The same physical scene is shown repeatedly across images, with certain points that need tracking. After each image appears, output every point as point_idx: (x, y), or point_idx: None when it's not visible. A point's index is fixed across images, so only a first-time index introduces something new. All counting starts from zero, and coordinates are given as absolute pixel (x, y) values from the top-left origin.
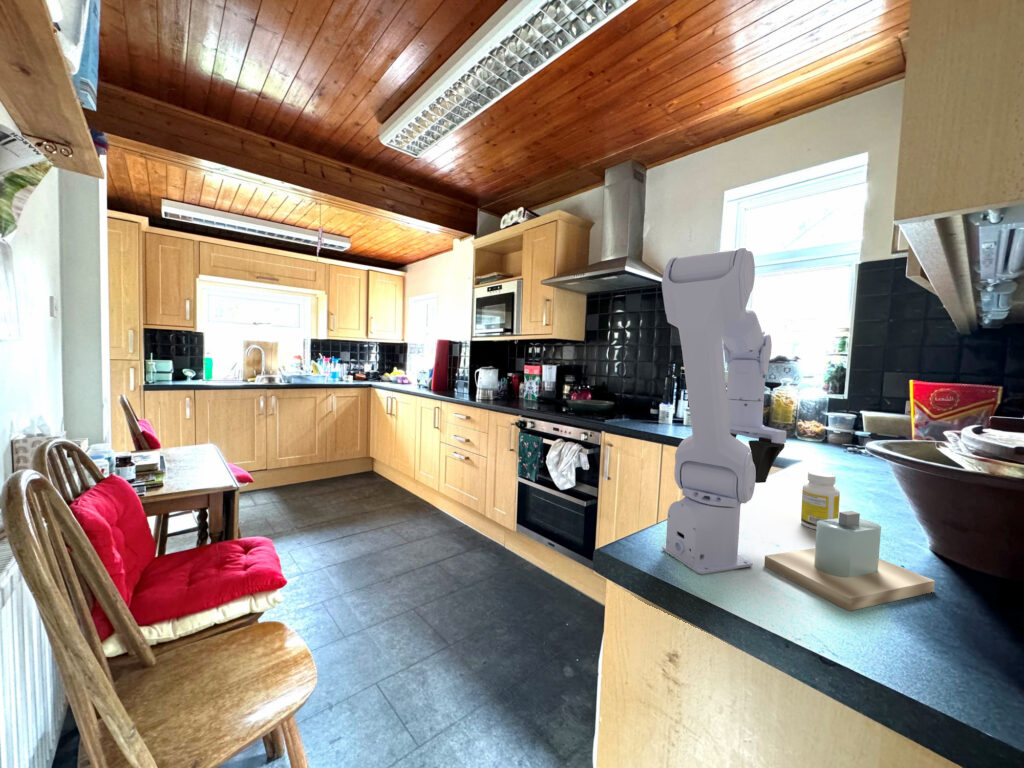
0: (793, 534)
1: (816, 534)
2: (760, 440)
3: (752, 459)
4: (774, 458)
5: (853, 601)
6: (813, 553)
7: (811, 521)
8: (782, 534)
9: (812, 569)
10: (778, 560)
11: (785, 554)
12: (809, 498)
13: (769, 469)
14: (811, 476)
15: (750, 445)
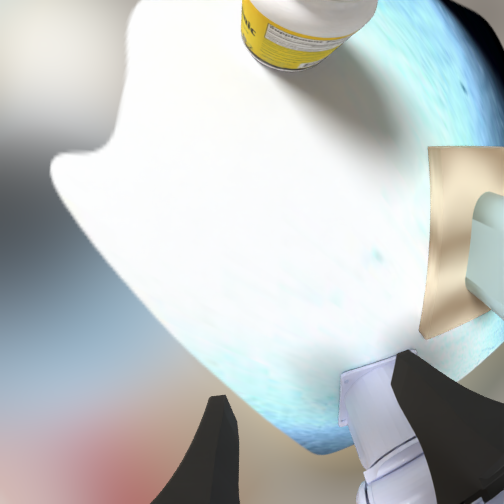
0: (334, 159)
1: (497, 314)
2: (472, 499)
3: (425, 454)
4: (483, 403)
5: None
6: (451, 255)
7: (307, 66)
8: (331, 191)
9: (469, 299)
10: (441, 329)
11: (437, 308)
12: (318, 44)
13: (443, 377)
14: None
15: (441, 500)
